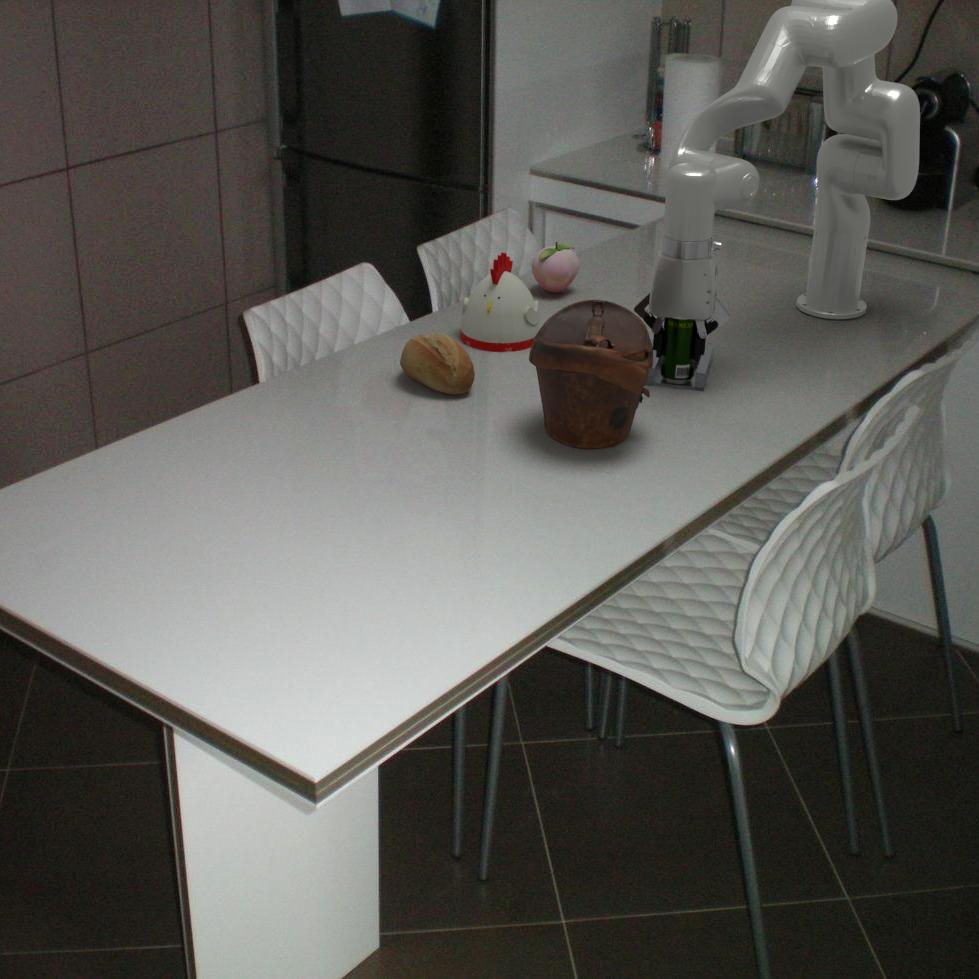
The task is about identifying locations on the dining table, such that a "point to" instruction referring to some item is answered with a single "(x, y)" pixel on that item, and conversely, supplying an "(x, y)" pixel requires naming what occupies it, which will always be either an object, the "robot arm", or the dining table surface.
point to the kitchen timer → (500, 312)
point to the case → (591, 372)
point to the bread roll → (438, 363)
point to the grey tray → (698, 379)
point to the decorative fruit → (555, 267)
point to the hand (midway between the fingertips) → (678, 355)
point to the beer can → (678, 350)
